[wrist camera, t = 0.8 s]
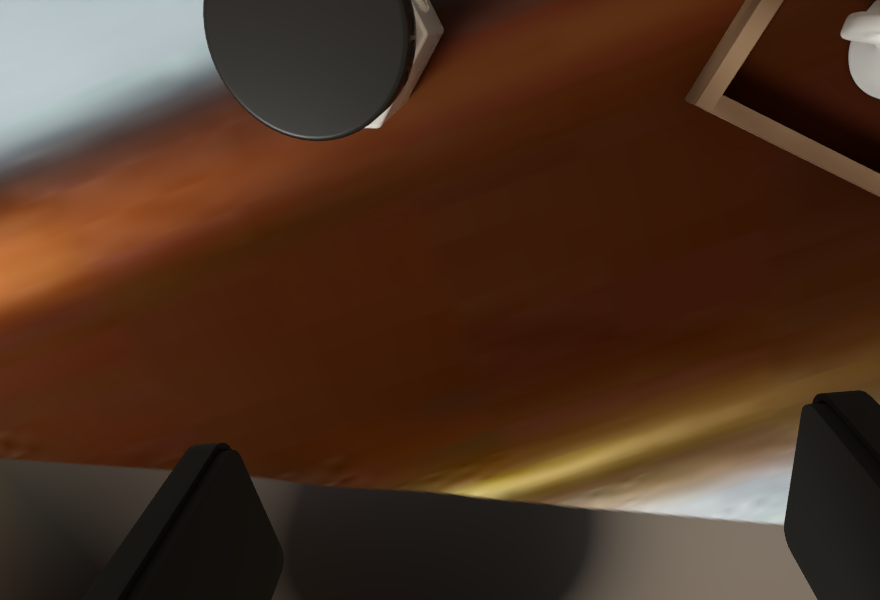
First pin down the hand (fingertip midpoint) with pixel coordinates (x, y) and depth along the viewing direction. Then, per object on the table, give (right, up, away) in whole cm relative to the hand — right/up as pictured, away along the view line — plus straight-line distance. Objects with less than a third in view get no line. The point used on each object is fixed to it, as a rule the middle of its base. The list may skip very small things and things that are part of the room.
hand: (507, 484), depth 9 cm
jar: (-5, +19, +22) cm, 30 cm away
